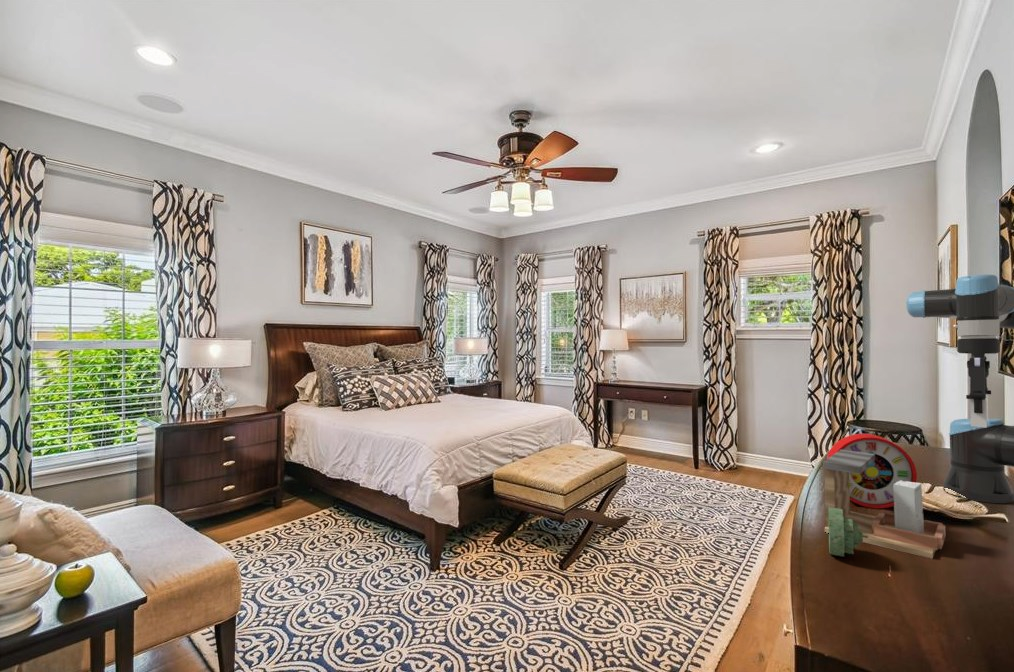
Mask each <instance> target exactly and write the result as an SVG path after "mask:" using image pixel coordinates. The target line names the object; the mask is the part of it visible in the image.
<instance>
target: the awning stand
mask: <svg viewBox="0 0 1014 672" xmlns="http://www.w3.org/2000/svg"><path fill="white" fill-rule="evenodd" d="M874 461H875V454H870V453H862V452H855V451H847V450H839V451H838V452H837V453H835V454H834V455H832V456H831V457H829V458H828V459H827V458H826V459H825V460H824V461H822V469H824V470H823V472H824V473H823V474H824V507H825V509H824V510H825V511H824V512H825V514H824V516H825V522H824V523H825V526H824V533H825V532H826V533H825V534H828V533H829V524H828V507H831V508H837V509H842V510H843V518H849V519H852V520H853V523H857V524H858V530H862V532H863V535H865V536H868V538H864V537H863V543H866V544H868V545H869V544H870V545H874V546H878V547H882V548H886V549H890V550H894V551H898V552H902V553H906V554H911V555H915V556H919V557H923V558H928V559H931V560H933V559H934V556H935V553H936V551H938V549H939V550H942V548H943V546H944V542H945V539H946V537H947V536H946V533H947V532H946V525H945V524H943V523H942V522H937V521H932V520H927V519H923V521H924V534H920V533H916V532H911V531H906V530H902V529H897V528H895V518H894V512H893V513H892V512H887V511H882V512H880V511H879V512H878V514H877V515H870V514H865V513H860V512H856V511H851V507H850V502H851V500H850V493H849V472H850V473H857V474H861V473H862V472H863V471H864V470H865V469H866V468H867V467H868V466H869V465H870V464H871V463H872V462H874Z"/></svg>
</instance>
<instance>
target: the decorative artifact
mask: <svg viewBox="0 0 1014 672" xmlns="http://www.w3.org/2000/svg"><path fill="white" fill-rule="evenodd" d="M828 524H829V534H828V550H829V555H831V556H837V557H842V558H843V557H844V558H845V554H849V555H854V548H859V544H860V543H861V544H863V543H864V542H863V537H864V538H868V536H865V535H863V532H862V530H858V524H857V523H853V520H852V519H849V518H843V510H842V509H837V508H831V507H828Z"/></svg>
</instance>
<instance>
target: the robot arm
mask: <svg viewBox="0 0 1014 672" xmlns="http://www.w3.org/2000/svg"><path fill="white" fill-rule="evenodd" d="M905 302H906V306H905V307H906V311H907V313H908V314H909V316H910V317H912V318H924V319H925V318H941V319H942V318H944V319H954V320H956V323H957V324H953V328H954V329H956V336H957V337H960V338H958V339H957V340H956V347H957V348H956V351H957V353H958V354H966V355H967V354H969V355H970V354H971V356H970V358H969V360H966V366H967V367H966V368H967V373H968V377H970V378H969V381H970V382H969V383H970V384H969V385H970V386H969V388H970V390H969V392H970V393H969V394H966V397H965V399H966V400H969V404H970V405H969V407H970V411H969V412H970V414H969V416H970V418H959V419H954V420H953V421H951V422H950V424H949V433H948V436H949V450H950V451H949V453H950V454H949V455H950V456H949V458H950V459H949V460H950V466H949V470H948V472H947V473H946V476H945V478H944V480H943V489H944V488H948V489H951V490H953V491H955V492H957V493H959V494H961V495H963V496H965V497H966V498H968V499H967V500H971V501H976V502H981V503H982V502H983V503H989V504H990V503H991V504H1009V503H1011V504H1012V503H1014V491H1013V489H1012V487H1011V485H1010V482H1009V480H1008V478H1007V476H1006V475H1007V474H1006V473H1005V466H1006V467H1012V468H1014V425H1006V424H1005V422H1004V421H1003V419H1000V418H990V417H989V395H992V390H990V389H989V388H988V380H987V379H988V377H989V375H990V374H989V373H990V371H989V369H990V366H991V362H990V360H988V359H987V358H988V357H987V356H986V354H987V355H989V354H992V355H993V354H999V353H1000V351H1001V347H1000V346H1001V343H1000V339H999V338H997V337H999V336H1000V335H1001V334H1000V333H1001V332H1000V331H1001V330H1000V328H1001V329H1011V330H1014V287H1012V286H1009V285H1006V284H1000V283H999V279H998V276H997V275H996V274H975V275H974V274H973V275H965V276H961V277H959V278H957V280H955V288H949V289H948V288H947V289H946V288H945V289H937V290H936V289H935V290H922V291H914V292H912V293H910V294H909V295H908V296H907V299H906V301H905Z"/></svg>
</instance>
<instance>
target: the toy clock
mask: <svg viewBox="0 0 1014 672" xmlns="http://www.w3.org/2000/svg"><path fill="white" fill-rule="evenodd" d="M839 450H847V451H855V452H862V453H870V454H875V461H874V462H872V463H871V464H870V465H869V466H868V467H867V468H866V469H865V470H864V471H863V472H862V473H861V474H857V473H850V472H849V493H850V502H853V503H855V504H856V505H859V506H863V507H865V508H871V509H886V508H891V507H894V495H893V484H895V483H896V482H899V481H901V480H902V481H909V482H915V483H918V482H917V480H918V473H917V469H916V465H915V463H914V461H913V459H912V457H911V456H910V454H908V453H907V452H906V451H905V450H904V449H903V448H902V447H900V446H899V445H897V444H896V443H894V442H893V441H891V440H888V439H887V438H884V437H882V436H880V435H876V434H872V433H871V434H870V433H855V434H850V435H848V436H844V437H843V438H841V439H839V440H838V441H837V442H835V443H834V444H833V446H832V447H831V448H830V449H829V451H828V453H827V457H826V459H828V458H829V457H831V456H832V455H834V454H835V453H837V452H838V451H839Z"/></svg>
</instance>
